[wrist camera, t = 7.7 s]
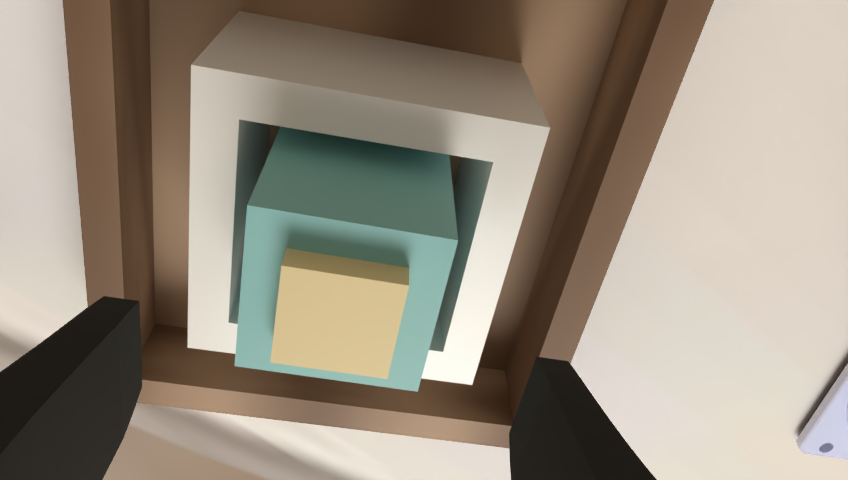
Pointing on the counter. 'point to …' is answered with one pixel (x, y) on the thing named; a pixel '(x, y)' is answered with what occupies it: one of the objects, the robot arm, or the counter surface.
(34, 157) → the counter surface
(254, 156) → the frame
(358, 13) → the parts box
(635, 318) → the counter surface
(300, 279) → the plug
